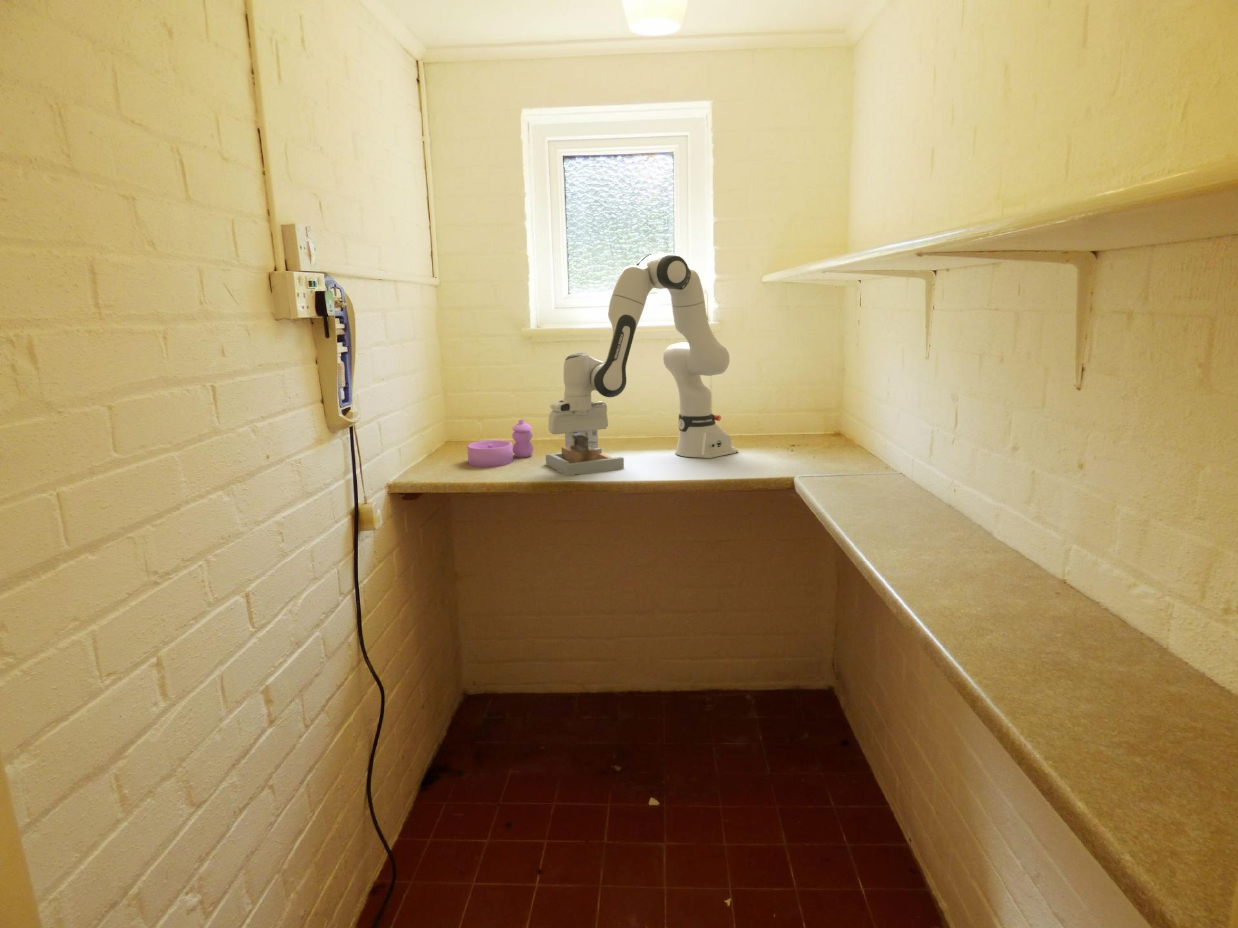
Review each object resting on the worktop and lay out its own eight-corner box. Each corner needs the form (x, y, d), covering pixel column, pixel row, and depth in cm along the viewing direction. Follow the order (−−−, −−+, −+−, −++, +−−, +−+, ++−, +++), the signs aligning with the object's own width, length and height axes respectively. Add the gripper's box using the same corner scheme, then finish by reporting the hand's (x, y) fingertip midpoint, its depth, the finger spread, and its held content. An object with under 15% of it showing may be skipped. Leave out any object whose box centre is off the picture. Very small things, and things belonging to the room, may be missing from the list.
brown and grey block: (583, 461, 247) (582, 431, 245) (598, 468, 236) (597, 437, 234) (562, 464, 243) (561, 434, 241) (576, 471, 233) (575, 439, 231)
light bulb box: (591, 451, 265) (590, 422, 262) (599, 454, 259) (598, 424, 256) (564, 454, 260) (563, 424, 258) (571, 457, 254) (570, 427, 252)
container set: (483, 469, 240) (480, 430, 237) (460, 462, 251) (457, 425, 248) (544, 457, 256) (542, 421, 253) (520, 451, 267) (518, 416, 264)
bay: (599, 457, 253) (599, 446, 252) (623, 468, 237) (623, 456, 236) (546, 464, 245) (545, 452, 244) (567, 475, 228) (567, 463, 227)
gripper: (602, 399, 242) (603, 439, 246) (545, 404, 234) (547, 446, 237) (610, 401, 237) (611, 443, 240) (552, 407, 228) (554, 449, 231)
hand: (579, 444), depth 238 cm, fingers closed on brown and grey block, 2 cm apart
